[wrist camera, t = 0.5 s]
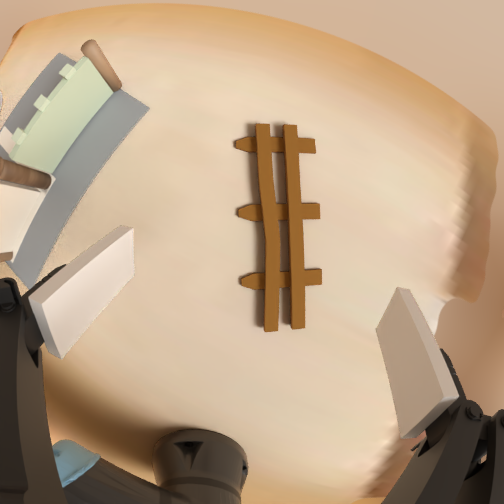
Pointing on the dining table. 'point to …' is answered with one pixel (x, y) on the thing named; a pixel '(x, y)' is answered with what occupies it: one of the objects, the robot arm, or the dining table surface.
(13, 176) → the hinge post
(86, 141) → the card
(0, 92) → the pudding
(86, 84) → the panel
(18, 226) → the fixed panel
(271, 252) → the decorative fence
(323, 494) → the dining table surface
